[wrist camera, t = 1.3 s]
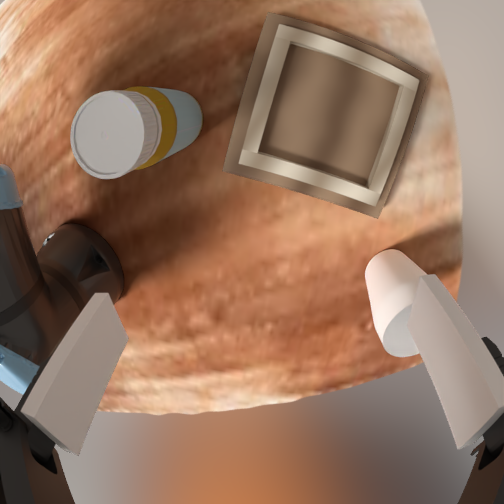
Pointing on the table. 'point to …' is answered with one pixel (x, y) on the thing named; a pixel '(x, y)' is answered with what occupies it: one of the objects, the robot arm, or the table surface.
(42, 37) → the table surface
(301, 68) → the plinth
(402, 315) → the cup
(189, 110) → the bottle
